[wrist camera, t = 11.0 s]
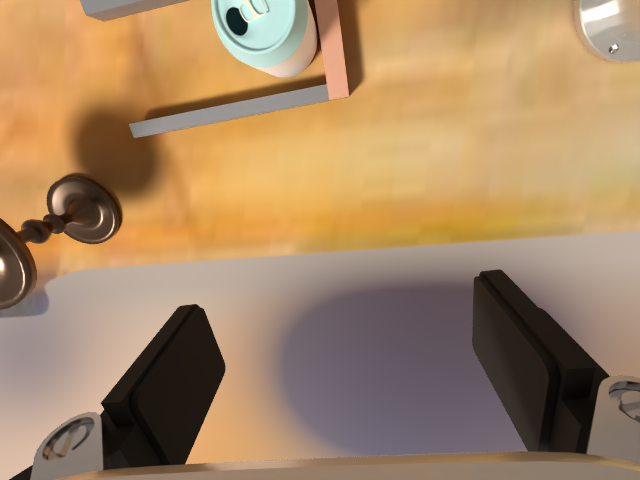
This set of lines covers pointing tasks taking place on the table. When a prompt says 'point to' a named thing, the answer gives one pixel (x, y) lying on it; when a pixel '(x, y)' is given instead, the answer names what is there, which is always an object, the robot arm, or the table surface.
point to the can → (268, 33)
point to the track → (113, 3)
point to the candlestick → (65, 216)
